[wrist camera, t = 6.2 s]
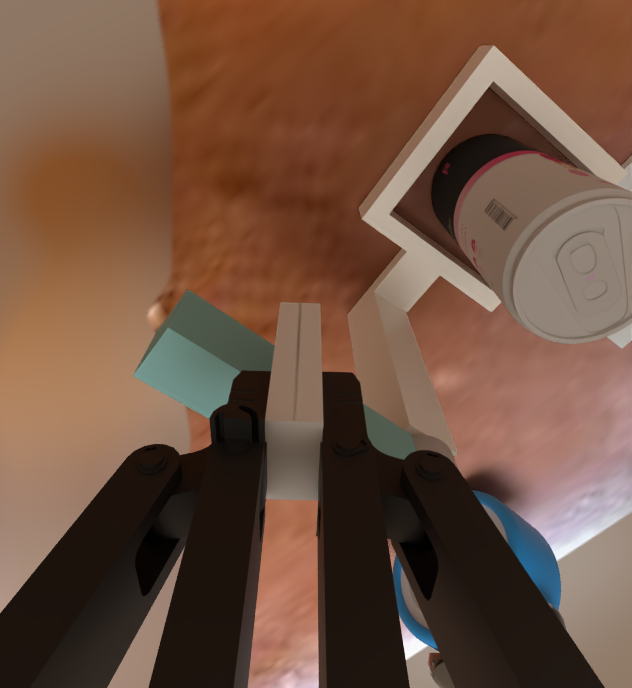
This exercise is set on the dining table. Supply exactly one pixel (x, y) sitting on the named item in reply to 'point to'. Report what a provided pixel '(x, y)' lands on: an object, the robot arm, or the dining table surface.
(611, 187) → the beverage can
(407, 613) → the alarm clock
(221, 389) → the bar
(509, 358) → the dining table surface
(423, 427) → the grey frame with post
